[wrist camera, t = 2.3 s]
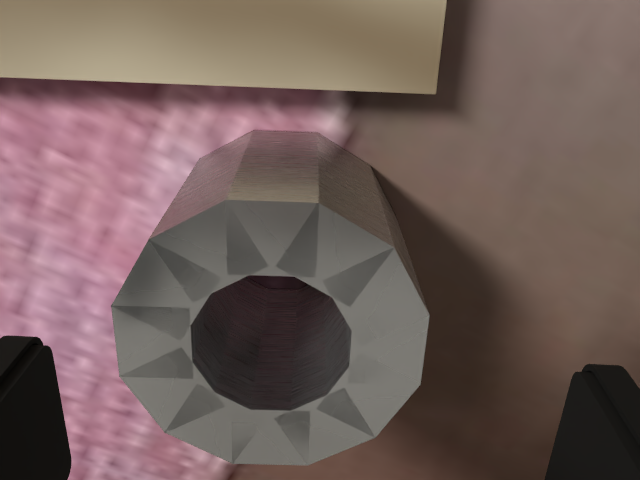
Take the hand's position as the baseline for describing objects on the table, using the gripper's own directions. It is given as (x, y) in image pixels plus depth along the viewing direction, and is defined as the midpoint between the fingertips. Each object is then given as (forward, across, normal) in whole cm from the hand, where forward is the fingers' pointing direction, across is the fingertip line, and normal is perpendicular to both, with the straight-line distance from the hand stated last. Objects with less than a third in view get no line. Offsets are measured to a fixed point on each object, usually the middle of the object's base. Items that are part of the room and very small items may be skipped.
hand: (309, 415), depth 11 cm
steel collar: (+9, +1, +1) cm, 9 cm away
